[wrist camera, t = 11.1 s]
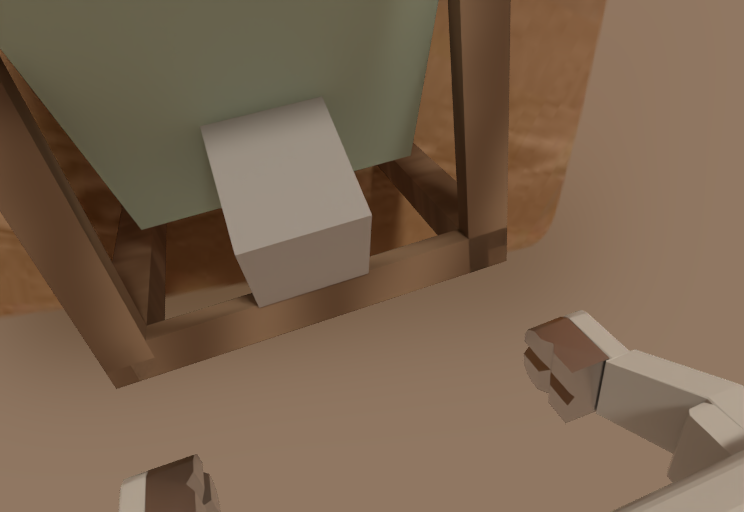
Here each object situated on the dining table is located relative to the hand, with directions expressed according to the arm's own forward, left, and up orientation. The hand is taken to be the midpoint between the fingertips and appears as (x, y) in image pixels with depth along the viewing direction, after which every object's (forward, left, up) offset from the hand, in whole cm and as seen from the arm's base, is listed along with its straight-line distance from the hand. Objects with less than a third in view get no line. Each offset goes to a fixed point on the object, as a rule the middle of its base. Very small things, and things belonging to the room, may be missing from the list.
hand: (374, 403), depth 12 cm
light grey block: (0, +1, -14) cm, 14 cm away
